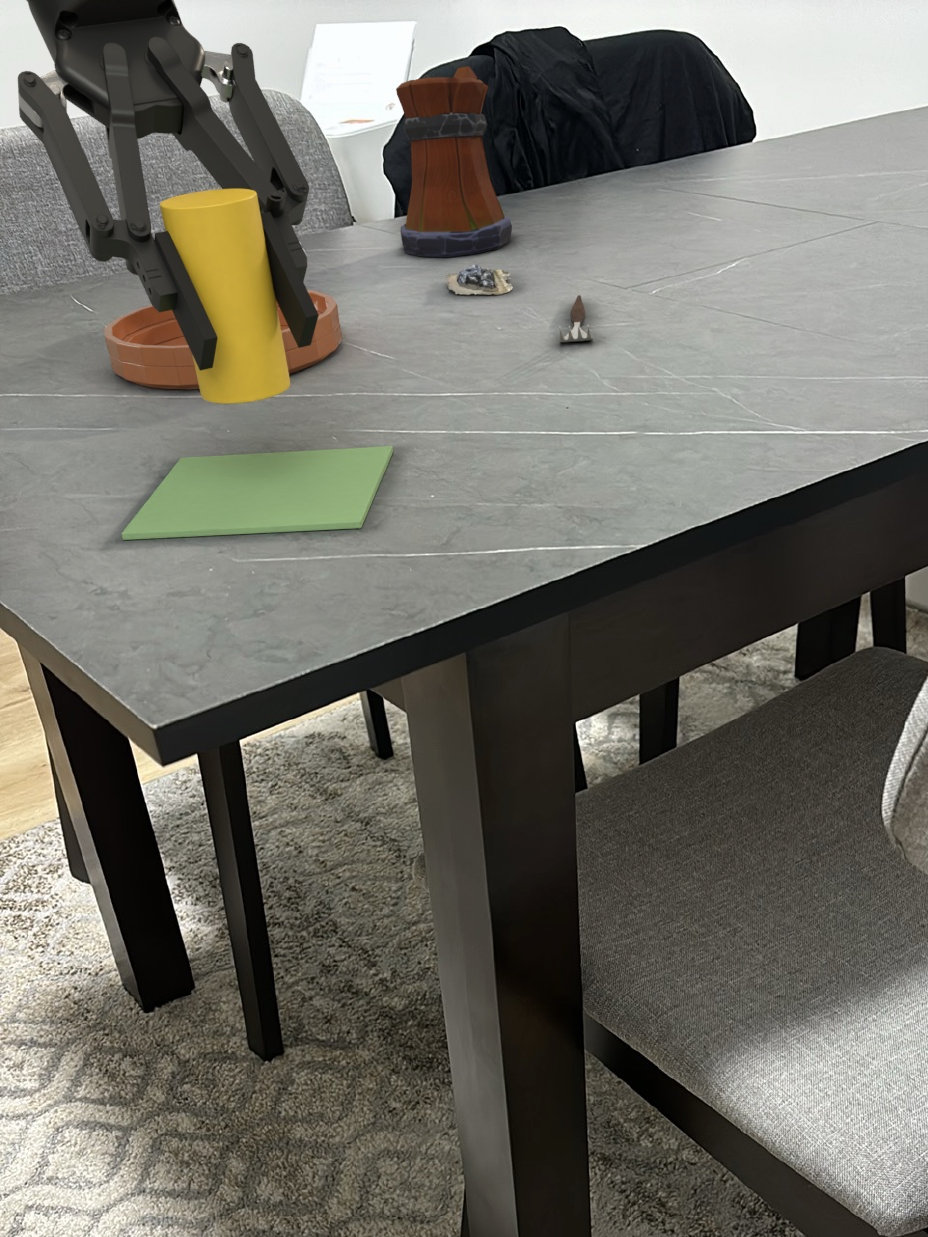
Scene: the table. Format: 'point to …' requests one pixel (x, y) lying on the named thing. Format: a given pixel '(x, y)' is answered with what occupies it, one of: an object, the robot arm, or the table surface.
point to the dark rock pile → (479, 281)
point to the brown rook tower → (449, 169)
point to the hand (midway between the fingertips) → (259, 341)
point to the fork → (576, 324)
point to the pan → (163, 359)
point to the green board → (263, 493)
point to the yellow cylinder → (231, 291)
